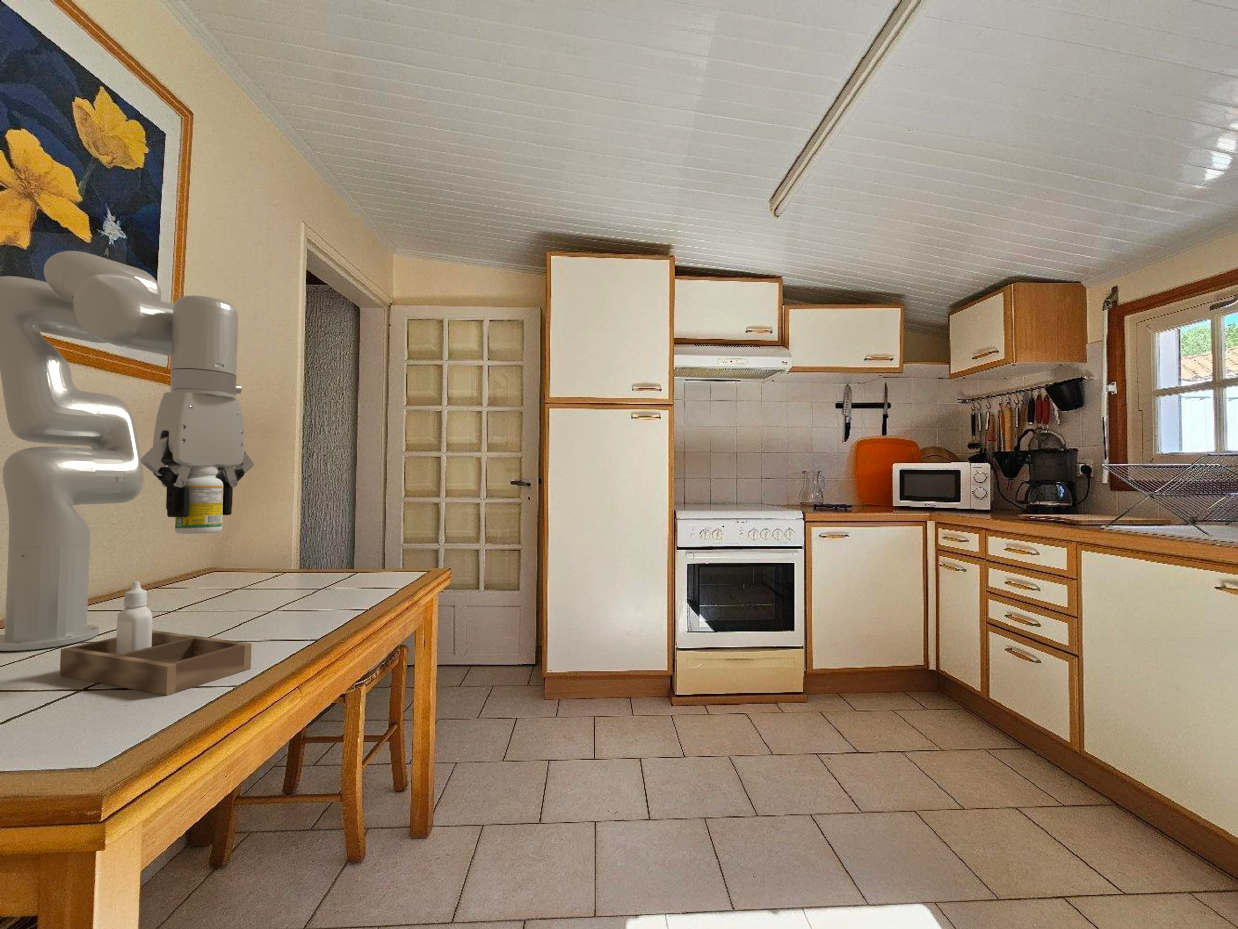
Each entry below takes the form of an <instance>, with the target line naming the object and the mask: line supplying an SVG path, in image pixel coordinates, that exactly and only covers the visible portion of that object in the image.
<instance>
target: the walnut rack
mask: <svg viewBox="0 0 1238 929" xmlns="http://www.w3.org/2000/svg"><path fill="white" fill-rule="evenodd" d="M116 639H117V636H116V637H112V638H108V639H107V638H106V639H102V640H98V641H93V642H88V643H87V642H86V643H84V644H80V645H73V646H70V647H65V648H64V647H63V648H61V649H60V660H59V662H60V663H59V676H61V677H65V678H71V679H76V680H82V681H87V682H93V683H98V684H104V685H109V686H112V687H113V686H114V687H119V688H125V689H130V690H135V691H139V692H140V691H142V692H146V693H150V694H156V695H161V696H169V695H172V694H175V693H179V692H182V691H185V690H188V689H191V688H195V687H197V686H201V685H204V684H207V683H211V682H214V681H217V680H219V679H223V678H226V677H229V676H233V675H236V674H239V673H242V672H245V671H248V670H251V668H252V643H251V642H244V641H236V640H228V639H221V638H213V637H206V636H200V635H199V636H198V635H192V634H186V633H185V634H184V633H177V632H169V631H168V632H167V631H160V630H154V629H152V647H149V648H145V649H141V650H136V651H132V652H128V653H124V654H120V655H116Z"/></svg>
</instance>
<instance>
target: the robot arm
mask: <svg viewBox="0 0 1238 929" xmlns="http://www.w3.org/2000/svg"><path fill="white" fill-rule="evenodd" d="M43 275H44V278H45V281H43V280H39V279H35V278H28V277H22V276H17V275H16V276H13V275H12V276H11V275H3V276H0V380H1V388H2V395H3V400H4V405H5V406H4V407H5V411H6V412H5V413H6V417H7V422H8V425H9V428H10V430H11V432H12V434H14V436H15V437H17V438H18V439H19V440H23V441H26V442H30V443H31V442H32V443H36V444H38V443H39V444H48V445H50V444H51V445H65V446H66V445H67V446H68V445H69V446H83V447H84V446H85V447H90V448H82V447H64V446H63V447H62V446H33V447H32V446H31V447H28V448H23V449H20V450H18V451H16V452H13V453H12V454H11V455H10V456H8V458H7V459H6V460H5V462H4V465H3V467H2V480H3V481H2V482H3V488H4V492H5V496H6V497H5V498H6V503H7V509H8V512H7V513H8V549H7V550H8V551H7V552H8V553H7V574H6V596H5V597H6V598H5V614H4V615H5V616H4V618H3V620H2V624H3V625H4V634H1V635H0V651H1V652H18V651H19V652H21V651H33V650H40V649H48V648H55V647H56V648H57V647H60V646H67V645H71V644H76V643H80V642H84V641H86V640H87V641H88V640H90V639H93V638H96V637H97V636H98V635H99V634H100V628H99V627H98V626H97V625H94V624H93V625H92V624H88V610H89V609H88V607H89V606H88V603H89V602H88V601H89V581H90V579H89V578H90V558H91V557H90V553H91V552H90V549H91V532H90V528H89V525H88V523H87V522H86V521H85V519H84V518H83V517H82V516H81V514H79V512H77V510H76V509H75V508H74V506H79V505H109V504H111V505H112V504H123V503H126V502H130V501H132V500H134V499H135V498H137V497H138V495H139V494H140V493H141V492H142V489H143V487H144V467H143V466H145V468H146V469H148V470H149V471H151V472H152V473H153V474H152V475H153V476H155V477H156V479H158V480H159V481H160V483H161V486H162V487H164V488H166V495H165V496H166V498H165V499H166V500H165V510H166V515H167V517H168V518H175V517H187V516H188V515H189V487H185V483H186V480H187V478H188V475H189V472H190V470H191V467H192V466H215V467H218V473H217V474H216V476H215V478H217V479H220V480H221V481H222V482H223V511H222V516H230V515H231V514H232V512H233V511H232V510H233V508H232V507H233V491H234V488H236V487H237V486H238V483H239V481H240V480H242V478H243V477H244V476H245V474H247V472H249V471H250V470H251V469H252V468H253V467H254V465H255V464H254V462H253V460H252V459H251V458H250V456H249V455H248V453H247V452H246V451H245V430H244V429H245V428H244V420H243V412H242V408H241V403H240V400H239V399H237V394H238V395H239V394H241V393H242V390H243V387H242V386H241V385H240V384H237V373H238V372H237V368H238V340H239V338H238V333H239V314H238V311H237V309H236V308H235V307H234V305H232V304H231V303H230V302H227V301H225V300H222V299H219V298H215V297H212V296H211V297H210V296H203V295H184V296H181V297H178V298H177V299H176V300H175V302H174V303H170V302H166V301H162V290H161V287H160V286H159V283H158V281H157V280H156V279H155V277H154V276H153V275H152V274H150V273H148V272H147V271H145V270H143V269H140V268H139V267H135V266H131V265H128V264H125V263H122V262H119V261H115V260H112V259H109V258H105V257H102V256H99V255H96V254H93V253H89V252H86V251H85V252H84V251H77V250H66V251H65V250H63V251H60V252H58V253H55V254H53V255H51V256H50V257H49V258H48V259H46V261H45V264H44V266H43ZM42 333H44V334H50V335H54V336H59V337H64V338H68V339H69V338H70V339H75V340H80V341H86V342H90V343H95V344H96V343H97V344H111V345H113V346H117V347H120V348H125V349H126V348H127V349H131V350H132V349H133V350H137V351H143V352H146V353H147V352H148V353H153V354H158V355H163V356H167V357H171V358H170V360H171V362H170V367H171V368H170V391H168V392H167V391H166V392H163V394H162V397H161V400H160V403H159V407H158V410H157V414H156V419H155V427H154V432H153V439H152V440H153V441H152V447H151V448H150V449H149V450H148V451H147V452H146V453H145V454H144V455H143V456H142V457H141V451H140V447H139V442H138V436H137V435H138V434H137V431H136V424H135V419H134V417H133V414H132V411H131V409H130V408H129V406H128V405H127V404H126V403H125V402H124V400H121V399H119V398H118V397H116V396H113V395H110V394H105V393H98V392H89V391H84V390H83V391H82V390H80V389H78V388H76V386H74V385H75V384H74V382H73V379H72V372H71V367H70V365H69V363H68V361H67V360H66V358H65V357H64V356H63V354H61V352H60V351H59V350H58V349H57V348H56V347H55V346H54V345H53V344H52V343H50V342H49V341H47V339H46V338H45V337H43V335H42Z"/></svg>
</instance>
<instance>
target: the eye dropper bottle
mask: <svg viewBox="0 0 1238 929" xmlns="http://www.w3.org/2000/svg"><path fill="white" fill-rule="evenodd" d="M123 596H124V599H123V600H124V601H123V603H124V604H123V607H124V608H123V609H122V610H120V611H119V612H118V614H117V621H116V637H117V639H116V655H120V654H124V653H128V652H132V651H136V650H141V649H145V648H149V647H152V630H153V613H152V610H151V609H150V608H149V607H148V606H146V605H147V602H148V591H147V590H146V589H143V588H142V587H141V583H140V581H138V580H137V581H132V584H131V588H130V589H129V590H127V591H126V592H124V595H123Z"/></svg>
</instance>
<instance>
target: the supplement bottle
mask: <svg viewBox="0 0 1238 929" xmlns="http://www.w3.org/2000/svg"><path fill="white" fill-rule="evenodd" d="M217 473H218V467H215V466H192V467H191V470H190V472H189V475H188V478H187V480H186V483H185V487H189V515H188V516H187V517H174V518H175V522H174V531H175V532H176V534H182V535H183V534H185V535H190V534H212V533H220V532H221V531H222V530H223V515H222V511H223V482H222V481H221V480H220V479H217V478H215V476H216V474H217Z"/></svg>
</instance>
